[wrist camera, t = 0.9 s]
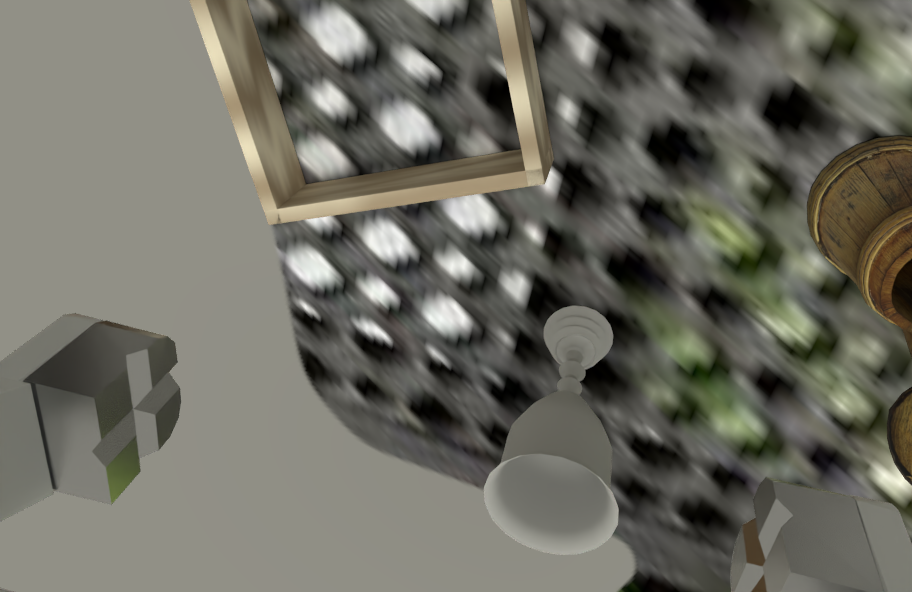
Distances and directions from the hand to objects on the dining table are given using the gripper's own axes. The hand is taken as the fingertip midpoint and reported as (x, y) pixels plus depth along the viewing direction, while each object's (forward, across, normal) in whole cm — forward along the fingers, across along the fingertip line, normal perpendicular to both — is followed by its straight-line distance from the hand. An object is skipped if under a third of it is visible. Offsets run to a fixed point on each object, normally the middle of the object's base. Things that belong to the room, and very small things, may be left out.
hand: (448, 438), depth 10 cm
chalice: (+41, -3, +23) cm, 47 cm away
